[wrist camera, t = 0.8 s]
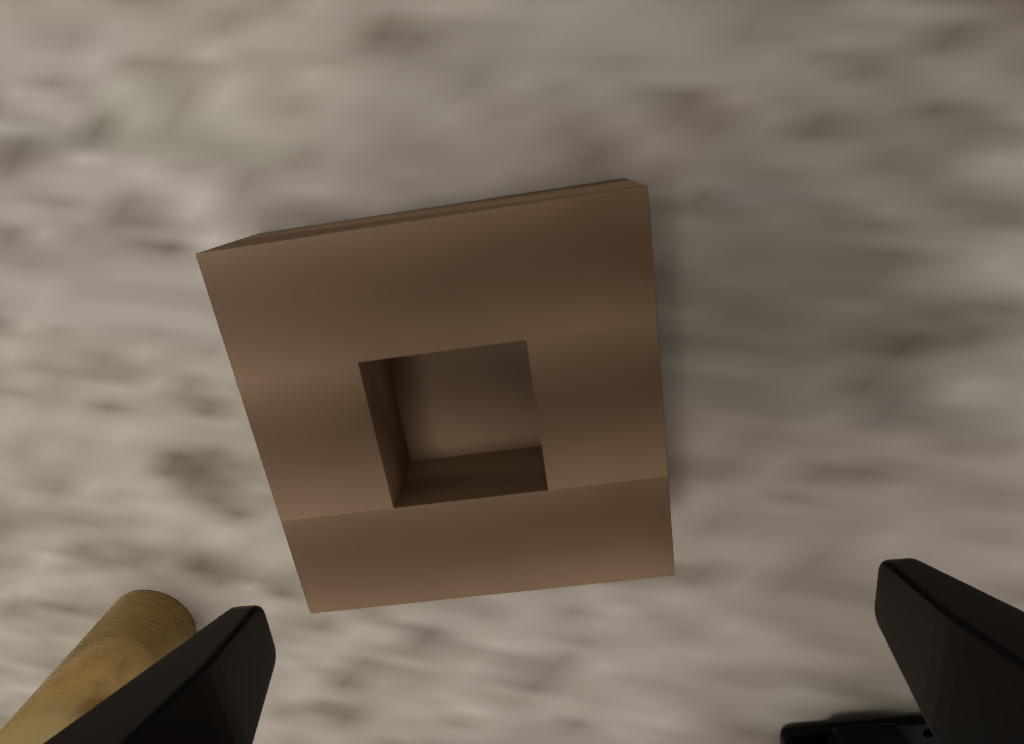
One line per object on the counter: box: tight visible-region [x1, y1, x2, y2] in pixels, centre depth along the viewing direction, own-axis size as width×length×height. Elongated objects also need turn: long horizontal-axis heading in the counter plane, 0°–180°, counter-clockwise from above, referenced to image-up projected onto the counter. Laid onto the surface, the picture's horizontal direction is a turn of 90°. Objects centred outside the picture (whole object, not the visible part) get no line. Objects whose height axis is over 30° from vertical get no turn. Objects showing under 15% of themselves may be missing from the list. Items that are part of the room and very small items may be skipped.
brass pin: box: [0, 590, 195, 744], centre depth 22 cm, size 4×4×9 cm
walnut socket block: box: [196, 178, 675, 613], centre depth 20 cm, size 12×12×4 cm
